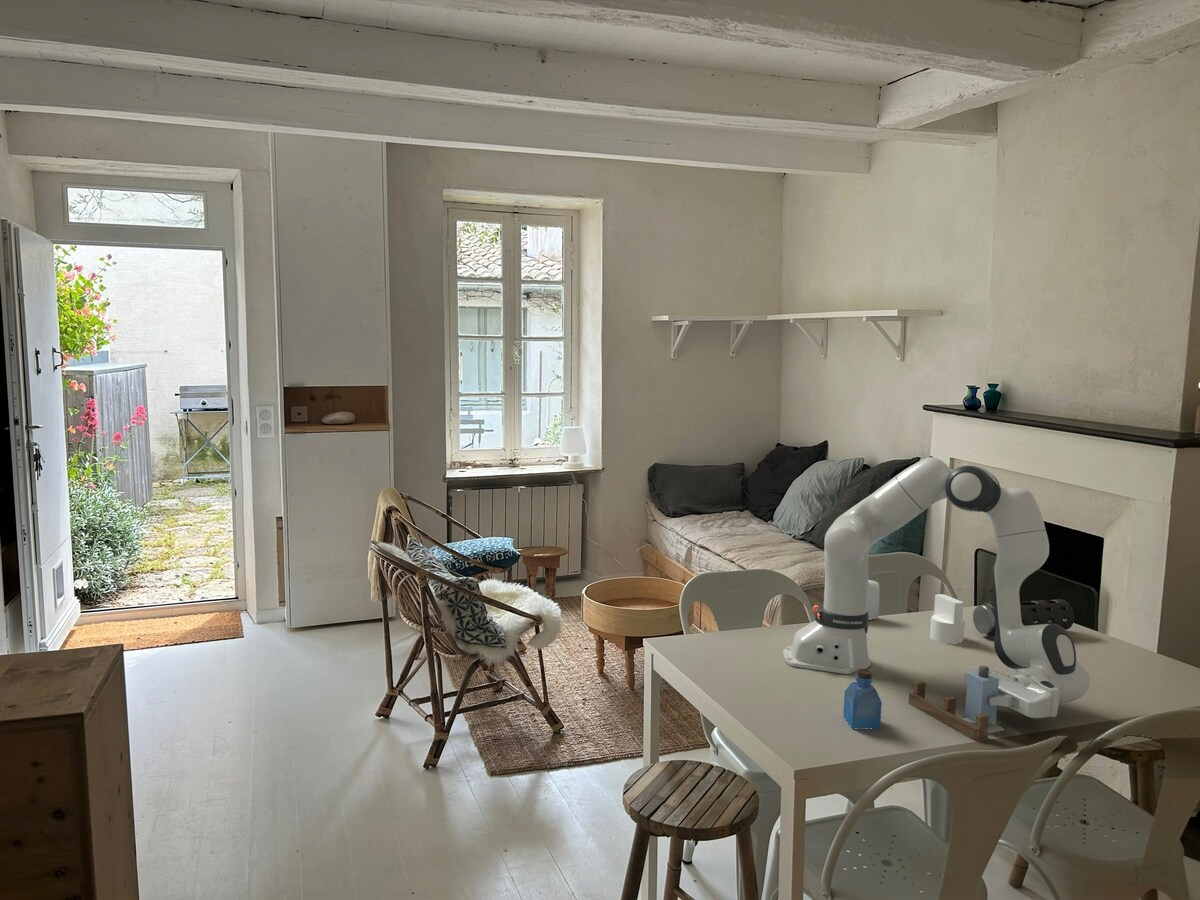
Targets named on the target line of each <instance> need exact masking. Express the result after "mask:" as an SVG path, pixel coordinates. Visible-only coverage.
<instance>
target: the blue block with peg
mask: <svg viewBox="0 0 1200 900" xmlns="http://www.w3.org/2000/svg"><path fill="white" fill-rule="evenodd" d="M978 669H979V672H975V673H968V677H967V686H966V690H967V691H966V692H965V693H966V695H965V707H964V718H968V719H970V720H972V721H974V722H975V721H976V715H979V714H987V715H989V723H994V724H995V723H996V722H997V709H998V705H995V706H991V705H989V704H988V703H987V702H986V701H987V696H990V695H994V696H998V687H999V678H997V677H995V676H993V675H991V674H989V669H990V668H989V666H987V665H979V666H978Z"/></svg>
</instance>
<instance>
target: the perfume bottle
mask: <svg viewBox="0 0 1200 900" xmlns="http://www.w3.org/2000/svg"><path fill="white" fill-rule="evenodd" d="M856 673H857V674H856V675H855V681H856V682H854V681H852V682H851V683H850V684H849V685H848V686H847V688H846V689H845V690H844V697H843V698H844V702H843V713H842V714H843V716H842V717H844V718H845V719H846V720H845V719H844V718H843V719H844V720H845V722H846V721H847V722H848V723H847V722H846V723H847V724H848V726H849V725H850V726H851V727H850V726H849V727H850V729H851V728H852V729H851V730H859V729H858V728H869V729H868V730H880V729H881V722H882V721H881V720H882V719H881V718H882V703H883V701H882V700H881V698H880V696H879V693H878V692H877V689H876V688H875V687H874V686H873V684H872V683H873V676H872V674H873V672H872V670H871V669H868V668H866V669H858V670H857V671H856ZM853 728H854V729H853ZM855 728H857V729H855ZM870 728H872V729H870Z"/></svg>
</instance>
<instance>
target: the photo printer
mask: <svg viewBox="0 0 1200 900" xmlns="http://www.w3.org/2000/svg"><path fill="white" fill-rule="evenodd" d="M868 581H869V585H868V601H867V611H868V616H869V618H871V619H869V621H873V620H872V619H877V620H878V619H879V614H880V613H879V612H880V611H879V610H880V590H881V588H880V583H878V581H875V580H872V579H868Z"/></svg>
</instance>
